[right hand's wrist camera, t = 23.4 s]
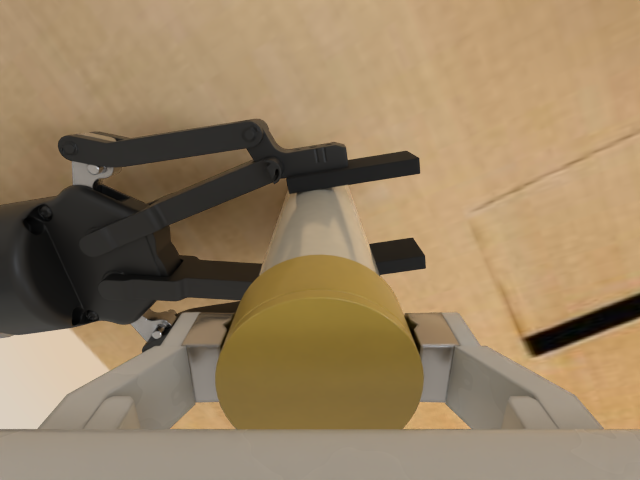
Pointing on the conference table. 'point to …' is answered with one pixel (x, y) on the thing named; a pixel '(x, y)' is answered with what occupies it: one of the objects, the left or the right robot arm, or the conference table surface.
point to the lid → (319, 351)
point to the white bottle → (319, 228)
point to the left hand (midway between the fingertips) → (415, 209)
